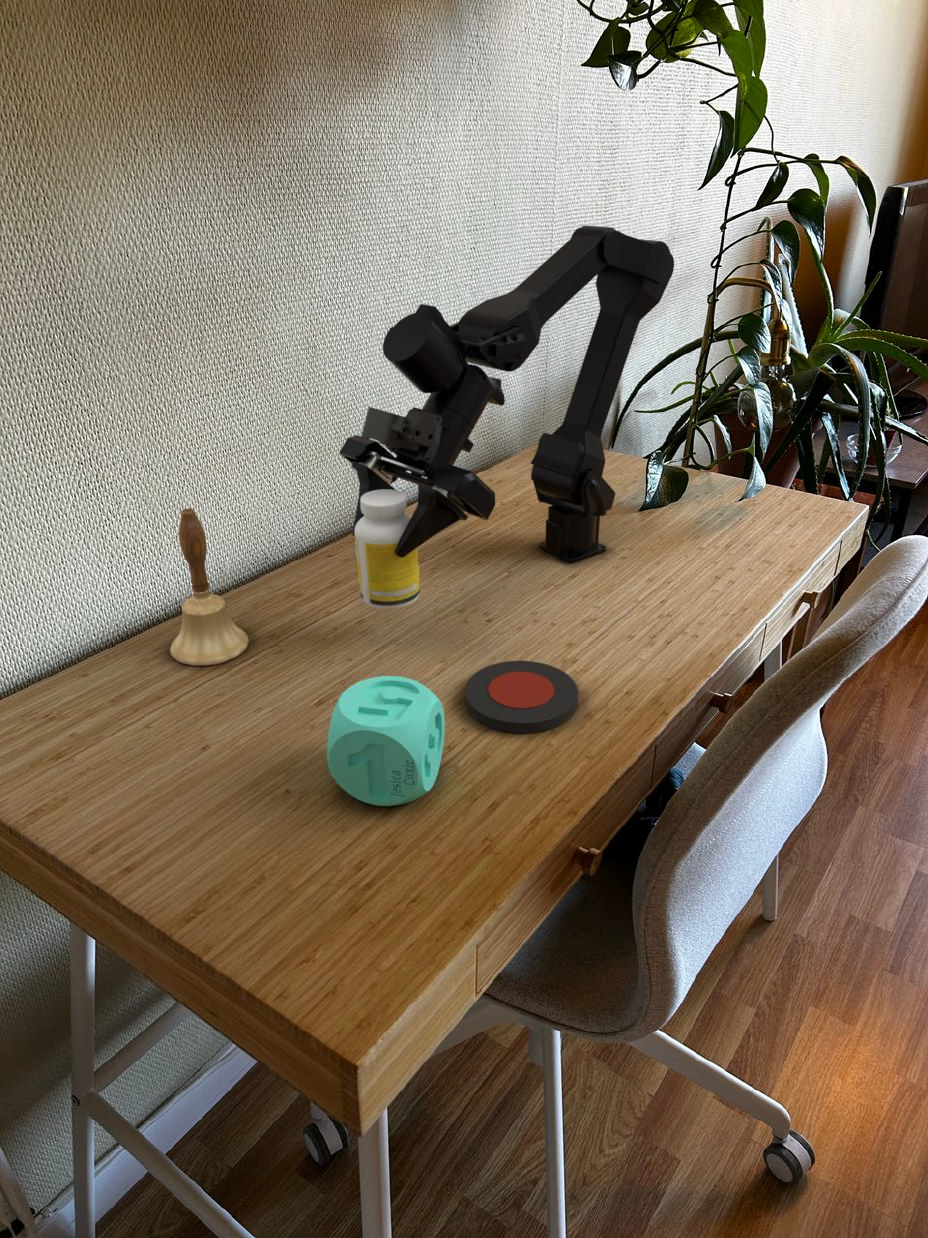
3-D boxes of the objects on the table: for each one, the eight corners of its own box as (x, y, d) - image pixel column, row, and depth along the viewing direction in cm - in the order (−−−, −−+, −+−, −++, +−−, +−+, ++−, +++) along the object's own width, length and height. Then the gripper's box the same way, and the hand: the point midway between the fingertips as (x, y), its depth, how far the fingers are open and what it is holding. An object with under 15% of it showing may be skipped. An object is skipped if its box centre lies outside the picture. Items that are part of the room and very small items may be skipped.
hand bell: (263, 634, 102) (244, 499, 94) (222, 672, 95) (198, 530, 87) (199, 623, 104) (175, 491, 96) (154, 659, 97) (125, 520, 90)
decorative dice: (330, 800, 77) (322, 722, 73) (361, 744, 83) (354, 670, 80) (422, 813, 75) (418, 734, 71) (446, 755, 82) (443, 680, 78)
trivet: (529, 659, 96) (529, 648, 95) (601, 706, 88) (602, 695, 87) (443, 694, 90) (442, 683, 90) (511, 748, 83) (511, 736, 82)
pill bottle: (429, 605, 97) (424, 503, 91) (370, 617, 95) (361, 513, 89) (409, 579, 102) (403, 481, 97) (353, 591, 100) (344, 491, 95)
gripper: (345, 359, 95) (271, 488, 94) (473, 390, 84) (391, 537, 82) (405, 416, 104) (338, 534, 103) (529, 451, 93) (455, 585, 91)
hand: (376, 546), depth 95 cm, fingers closed on pill bottle, 6 cm apart
